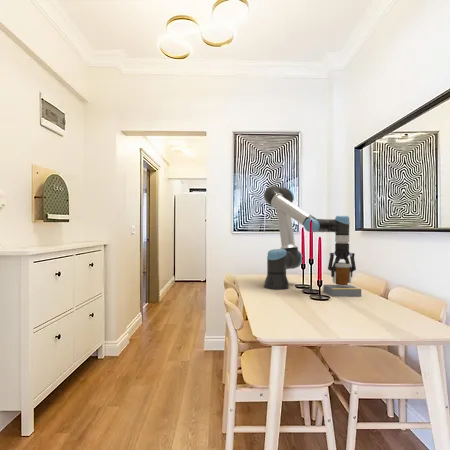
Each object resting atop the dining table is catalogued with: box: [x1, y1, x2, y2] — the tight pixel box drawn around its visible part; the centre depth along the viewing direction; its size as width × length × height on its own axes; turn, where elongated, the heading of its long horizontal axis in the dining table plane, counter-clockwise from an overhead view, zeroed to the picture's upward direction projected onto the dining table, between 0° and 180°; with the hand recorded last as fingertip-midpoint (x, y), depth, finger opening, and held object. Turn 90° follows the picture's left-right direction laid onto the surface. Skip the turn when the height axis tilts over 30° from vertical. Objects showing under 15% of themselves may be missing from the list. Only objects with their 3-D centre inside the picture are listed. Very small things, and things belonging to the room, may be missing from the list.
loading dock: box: [322, 284, 362, 297], centre depth 186 cm, size 16×14×4 cm
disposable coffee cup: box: [333, 261, 351, 285], centre depth 187 cm, size 10×10×12 cm
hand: (341, 282), depth 187 cm, fingers closed on disposable coffee cup, 8 cm apart
